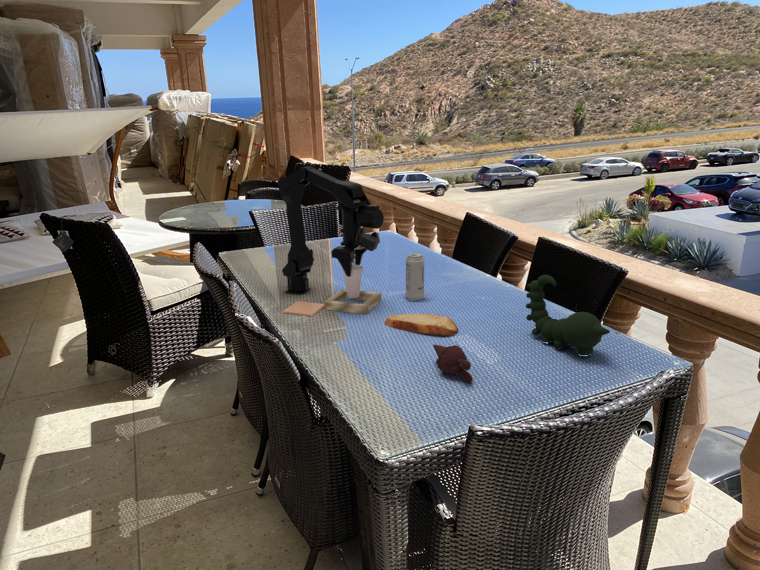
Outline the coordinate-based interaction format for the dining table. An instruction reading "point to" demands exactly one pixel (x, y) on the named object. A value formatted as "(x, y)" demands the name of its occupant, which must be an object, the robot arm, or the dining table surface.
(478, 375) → the dining table surface
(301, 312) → the coaster
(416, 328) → the slice of bread
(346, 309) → the holder
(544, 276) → the toy figurine
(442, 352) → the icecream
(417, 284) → the energy drink can
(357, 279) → the smoothie
